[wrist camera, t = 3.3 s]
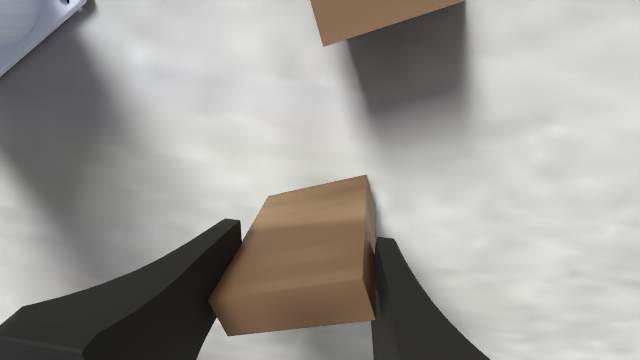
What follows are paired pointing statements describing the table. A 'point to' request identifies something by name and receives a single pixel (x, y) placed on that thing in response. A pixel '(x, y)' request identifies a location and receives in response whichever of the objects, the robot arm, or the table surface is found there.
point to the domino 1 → (303, 262)
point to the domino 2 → (367, 15)
